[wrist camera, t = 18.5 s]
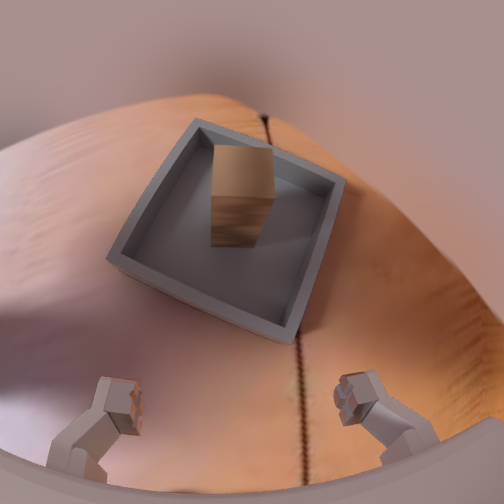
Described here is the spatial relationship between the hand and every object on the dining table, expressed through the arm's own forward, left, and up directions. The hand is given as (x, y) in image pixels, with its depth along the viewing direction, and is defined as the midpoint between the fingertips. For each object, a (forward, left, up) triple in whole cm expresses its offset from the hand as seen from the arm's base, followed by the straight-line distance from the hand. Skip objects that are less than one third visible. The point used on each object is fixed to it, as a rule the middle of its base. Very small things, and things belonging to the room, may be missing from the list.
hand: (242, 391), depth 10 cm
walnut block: (-5, +14, -20) cm, 25 cm away
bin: (-5, +14, -21) cm, 25 cm away
